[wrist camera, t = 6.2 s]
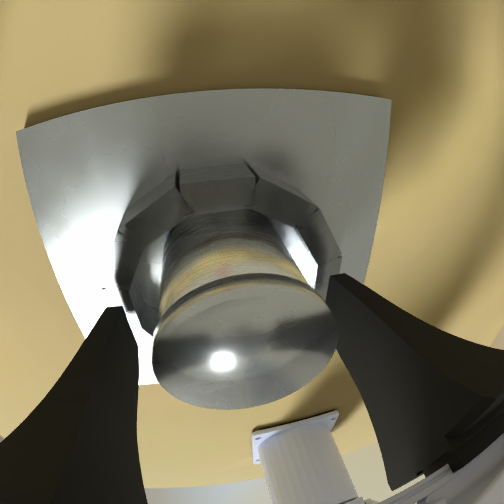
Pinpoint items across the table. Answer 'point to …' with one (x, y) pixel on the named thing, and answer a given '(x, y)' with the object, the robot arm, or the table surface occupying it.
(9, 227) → the table surface
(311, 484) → the robot arm
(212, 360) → the round metal knob
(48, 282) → the table surface
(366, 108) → the flange plate
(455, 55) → the table surface
